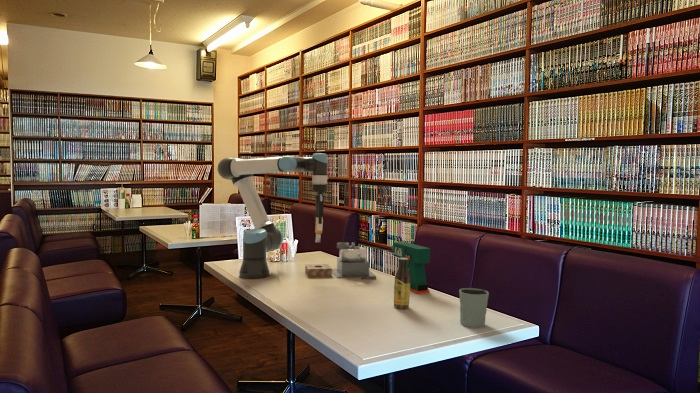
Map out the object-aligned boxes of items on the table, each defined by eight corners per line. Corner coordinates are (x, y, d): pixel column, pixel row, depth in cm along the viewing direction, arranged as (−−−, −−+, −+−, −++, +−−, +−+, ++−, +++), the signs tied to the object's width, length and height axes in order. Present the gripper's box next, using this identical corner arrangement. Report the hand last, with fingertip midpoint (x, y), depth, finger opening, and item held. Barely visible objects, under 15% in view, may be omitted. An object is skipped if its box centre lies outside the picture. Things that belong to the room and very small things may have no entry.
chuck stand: (337, 280, 238) (337, 264, 238) (330, 271, 258) (330, 257, 258) (376, 279, 242) (376, 263, 242) (366, 270, 262) (366, 256, 262)
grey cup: (452, 323, 172) (453, 290, 172) (468, 318, 180) (469, 286, 179) (478, 330, 165) (479, 296, 165) (492, 324, 172) (494, 291, 172)
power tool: (381, 279, 243) (382, 239, 242) (393, 278, 246) (394, 239, 245) (416, 294, 214) (417, 249, 213) (429, 292, 217) (430, 248, 216)
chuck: (334, 260, 245) (334, 243, 245) (341, 256, 259) (341, 240, 258) (362, 262, 241) (363, 245, 241) (368, 258, 255) (369, 241, 254)
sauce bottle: (390, 305, 194) (392, 257, 193) (404, 304, 196) (406, 256, 195) (398, 310, 188) (399, 259, 187) (412, 309, 190) (413, 259, 189)
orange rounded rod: (314, 242, 243) (316, 219, 243) (313, 241, 247) (315, 218, 246) (321, 243, 244) (323, 219, 244) (320, 242, 248) (322, 218, 247)
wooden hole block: (307, 279, 239) (308, 269, 239) (305, 274, 251) (305, 264, 251) (331, 278, 242) (331, 268, 242) (327, 273, 254) (328, 264, 253)
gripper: (329, 184, 237) (329, 231, 238) (324, 183, 253) (323, 227, 254) (314, 184, 235) (313, 231, 236) (310, 183, 252) (309, 227, 253)
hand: (319, 229), depth 245 cm, fingers closed on orange rounded rod, 3 cm apart
